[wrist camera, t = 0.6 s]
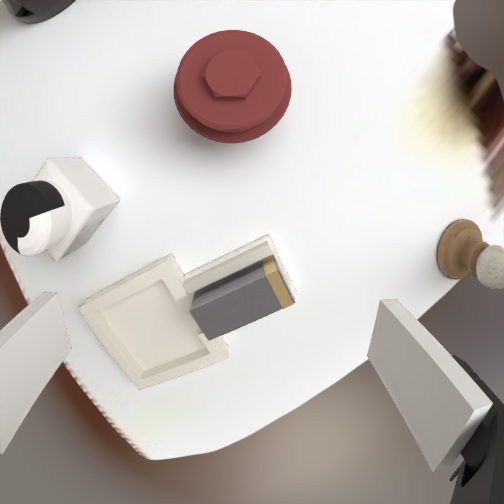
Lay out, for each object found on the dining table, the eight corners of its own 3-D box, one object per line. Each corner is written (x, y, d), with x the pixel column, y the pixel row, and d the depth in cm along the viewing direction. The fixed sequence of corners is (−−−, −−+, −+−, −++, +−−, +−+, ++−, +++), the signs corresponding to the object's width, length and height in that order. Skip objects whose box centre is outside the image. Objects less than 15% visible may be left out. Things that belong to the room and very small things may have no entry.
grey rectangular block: (194, 291, 36) (188, 311, 31) (273, 253, 35) (278, 269, 30) (211, 318, 37) (208, 341, 32) (288, 284, 36) (295, 303, 31)
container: (48, 202, 33) (-18, 224, 21) (81, 155, 32) (15, 158, 19) (86, 243, 35) (28, 282, 22) (122, 198, 34) (67, 220, 21)
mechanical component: (219, 47, 29) (296, 90, 31) (171, 119, 31) (248, 163, 33) (210, -3, 17) (325, 57, 19) (136, 100, 19) (254, 165, 21)
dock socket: (87, 298, 37) (77, 308, 34) (257, 210, 35) (258, 215, 32) (143, 377, 41) (138, 390, 38) (305, 310, 39) (310, 322, 36)
